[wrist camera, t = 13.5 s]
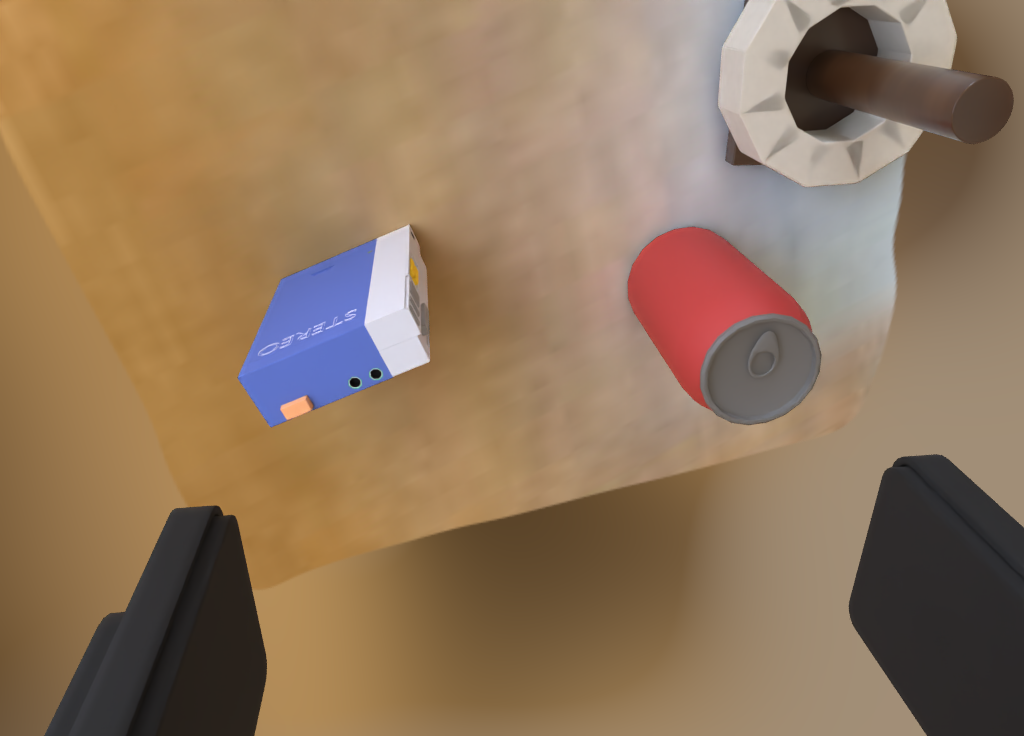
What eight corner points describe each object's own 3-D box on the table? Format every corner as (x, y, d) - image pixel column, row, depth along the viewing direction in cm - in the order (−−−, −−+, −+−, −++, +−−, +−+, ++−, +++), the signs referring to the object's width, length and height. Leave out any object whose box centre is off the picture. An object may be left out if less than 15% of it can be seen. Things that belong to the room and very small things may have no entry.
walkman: (305, 320, 43) (269, 433, 33) (280, 278, 42) (235, 381, 31) (432, 267, 43) (437, 364, 32) (411, 223, 41) (409, 308, 31)
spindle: (747, -24, 38) (896, -25, 26) (918, -25, 38) (1138, -26, 27) (724, 161, 42) (844, 232, 30) (880, 156, 42) (1055, 224, 31)
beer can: (744, 224, 43) (850, 305, 33) (723, 329, 46) (814, 434, 36) (632, 222, 43) (703, 303, 32) (618, 329, 46) (679, 436, 35)
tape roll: (727, -41, 36) (752, -42, 33) (936, -53, 37) (977, -55, 34) (711, 179, 41) (732, 193, 38) (897, 164, 42) (929, 177, 39)
